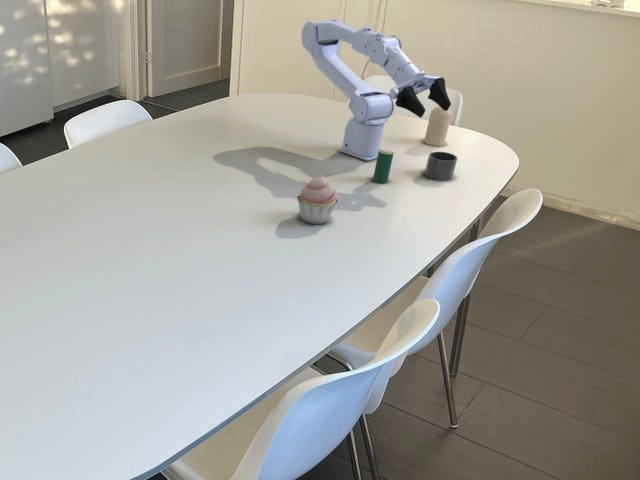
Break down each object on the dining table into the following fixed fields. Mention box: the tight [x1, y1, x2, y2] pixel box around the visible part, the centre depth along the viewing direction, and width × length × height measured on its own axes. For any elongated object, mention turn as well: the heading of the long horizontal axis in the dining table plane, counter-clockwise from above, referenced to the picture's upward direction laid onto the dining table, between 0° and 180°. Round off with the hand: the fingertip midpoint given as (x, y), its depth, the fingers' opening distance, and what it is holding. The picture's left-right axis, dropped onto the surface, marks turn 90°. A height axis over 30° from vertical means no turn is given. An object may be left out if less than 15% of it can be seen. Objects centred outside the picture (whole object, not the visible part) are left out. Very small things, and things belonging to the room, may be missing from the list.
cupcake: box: [295, 175, 340, 225], centre depth 161 cm, size 9×9×10 cm
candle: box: [423, 106, 453, 147], centre depth 204 cm, size 6×6×10 cm
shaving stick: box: [372, 146, 394, 184], centre depth 181 cm, size 4×4×8 cm
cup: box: [424, 151, 458, 181], centre depth 186 cm, size 7×7×5 cm
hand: (435, 110), depth 173 cm, fingers open, 7 cm apart
